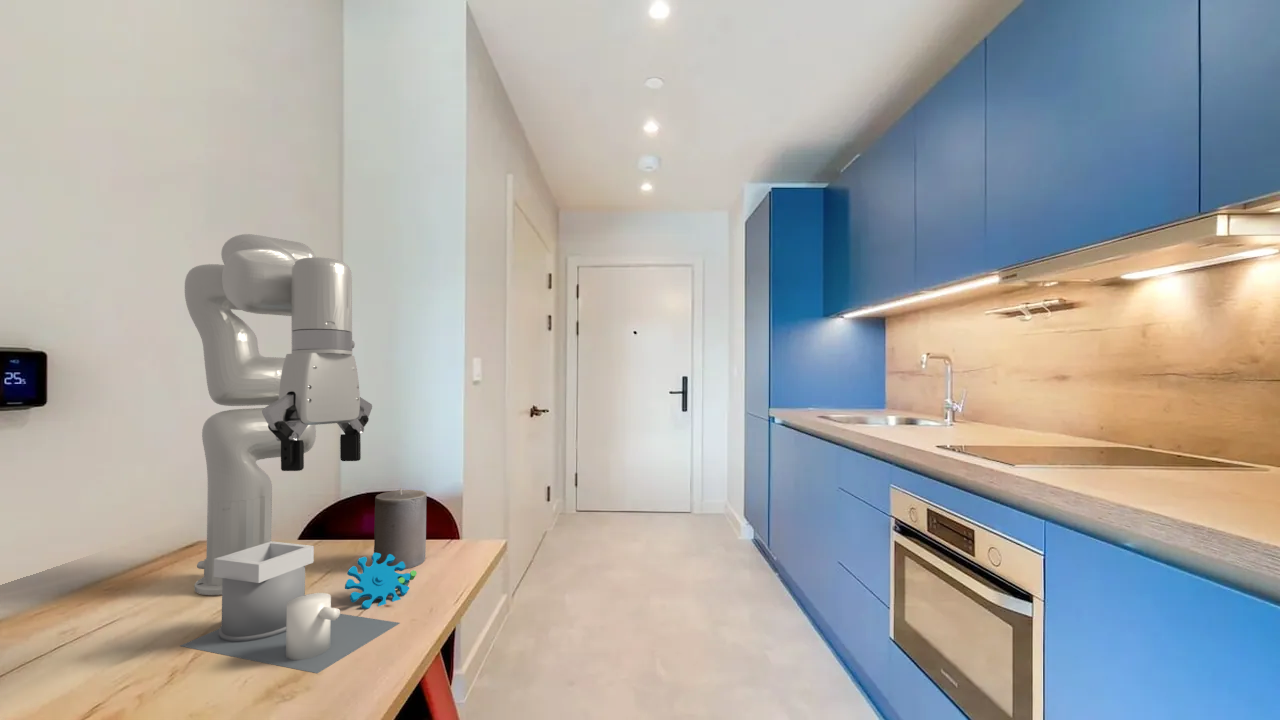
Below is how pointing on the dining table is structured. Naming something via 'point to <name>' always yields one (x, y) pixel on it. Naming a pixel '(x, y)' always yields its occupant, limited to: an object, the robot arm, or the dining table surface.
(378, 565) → the gear
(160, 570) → the dining table surface
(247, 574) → the motor stand
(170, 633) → the dining table surface
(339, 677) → the dining table surface
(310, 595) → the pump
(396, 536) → the pillar candle
